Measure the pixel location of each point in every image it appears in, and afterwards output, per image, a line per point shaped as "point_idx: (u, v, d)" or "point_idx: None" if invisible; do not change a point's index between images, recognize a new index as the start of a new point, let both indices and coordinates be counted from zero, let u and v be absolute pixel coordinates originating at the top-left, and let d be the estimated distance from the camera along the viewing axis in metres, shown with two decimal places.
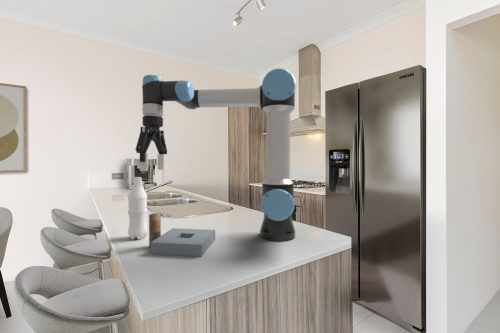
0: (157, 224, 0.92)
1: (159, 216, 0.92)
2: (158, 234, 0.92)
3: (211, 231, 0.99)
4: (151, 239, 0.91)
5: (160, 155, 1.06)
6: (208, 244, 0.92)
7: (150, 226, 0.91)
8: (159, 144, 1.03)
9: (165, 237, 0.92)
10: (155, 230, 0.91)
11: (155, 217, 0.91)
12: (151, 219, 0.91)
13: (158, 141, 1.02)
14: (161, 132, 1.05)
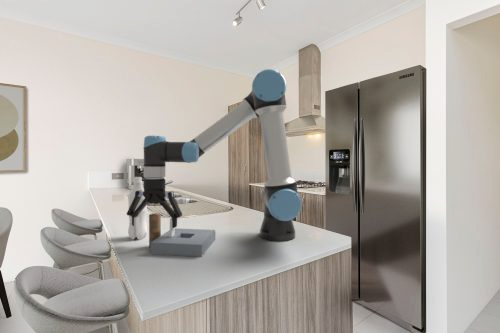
0: (157, 224, 0.92)
1: (159, 216, 0.92)
2: (158, 234, 0.92)
3: (211, 231, 0.99)
4: (151, 239, 0.91)
5: None
6: (208, 244, 0.92)
7: (150, 226, 0.91)
8: None
9: (165, 237, 0.92)
10: (155, 230, 0.91)
11: (155, 217, 0.91)
12: (151, 219, 0.91)
13: None
14: (168, 194, 0.91)
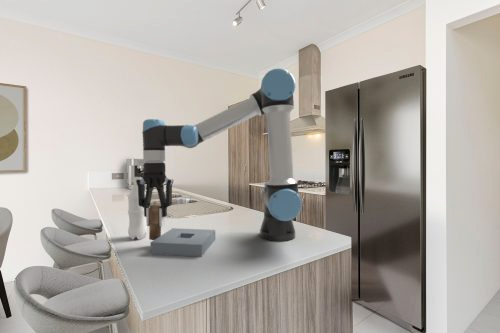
0: (158, 216, 0.92)
1: None
2: (158, 226, 0.92)
3: (211, 231, 0.99)
4: (151, 230, 0.91)
5: None
6: (208, 244, 0.92)
7: (151, 217, 0.91)
8: None
9: (165, 237, 0.92)
10: (155, 222, 0.91)
11: (156, 209, 0.91)
12: (152, 211, 0.91)
13: None
14: (167, 181, 0.91)
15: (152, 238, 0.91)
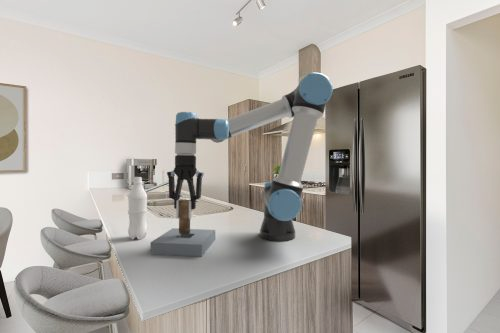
0: (187, 210, 0.92)
1: None
2: (188, 220, 0.93)
3: (211, 231, 0.99)
4: (181, 224, 0.92)
5: None
6: (208, 244, 0.92)
7: (180, 212, 0.92)
8: None
9: (165, 237, 0.92)
10: (185, 216, 0.92)
11: (185, 203, 0.92)
12: (182, 205, 0.92)
13: None
14: (198, 174, 0.92)
15: (182, 232, 0.92)
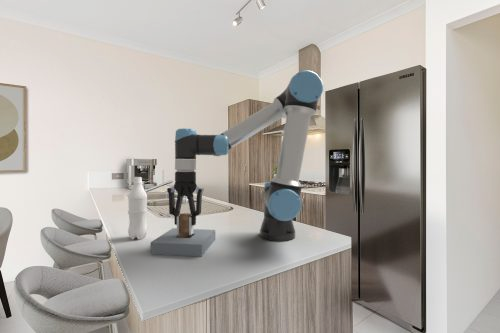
0: (188, 224, 0.92)
1: (189, 216, 0.93)
2: (188, 234, 0.93)
3: (211, 231, 0.99)
4: None
5: None
6: (208, 244, 0.92)
7: (181, 226, 0.92)
8: None
9: (165, 237, 0.92)
10: (186, 230, 0.92)
11: (186, 217, 0.92)
12: (182, 219, 0.92)
13: None
14: (198, 190, 0.92)
15: None
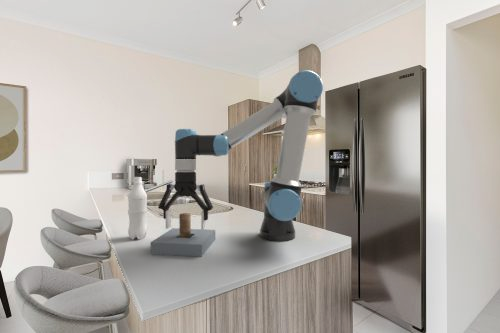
0: (188, 224, 0.92)
1: (189, 216, 0.93)
2: (188, 234, 0.93)
3: (211, 231, 0.99)
4: None
5: None
6: (208, 244, 0.92)
7: (181, 226, 0.92)
8: None
9: (165, 237, 0.92)
10: (186, 230, 0.92)
11: (186, 217, 0.92)
12: (182, 219, 0.92)
13: None
14: None
15: None
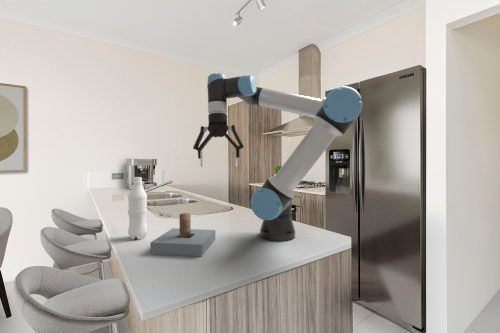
0: (188, 224, 0.92)
1: (189, 216, 0.93)
2: (188, 234, 0.93)
3: (211, 231, 0.99)
4: None
5: None
6: (208, 244, 0.92)
7: (181, 226, 0.92)
8: None
9: (165, 237, 0.92)
10: (186, 230, 0.92)
11: (186, 217, 0.92)
12: (182, 219, 0.92)
13: None
14: (231, 127, 1.01)
15: None
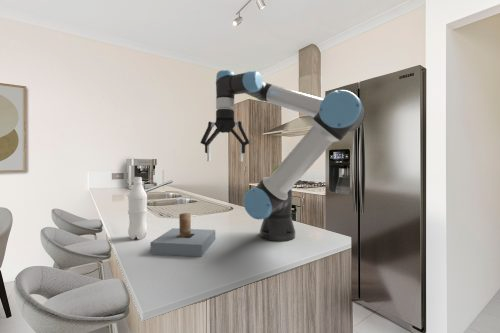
0: (188, 224, 0.92)
1: (189, 216, 0.93)
2: (188, 234, 0.93)
3: (211, 231, 0.99)
4: None
5: (240, 146, 1.04)
6: (208, 244, 0.92)
7: (181, 226, 0.92)
8: (234, 135, 1.03)
9: (165, 237, 0.92)
10: (186, 230, 0.92)
11: (186, 217, 0.92)
12: (182, 219, 0.92)
13: None
14: (238, 123, 1.03)
15: None
